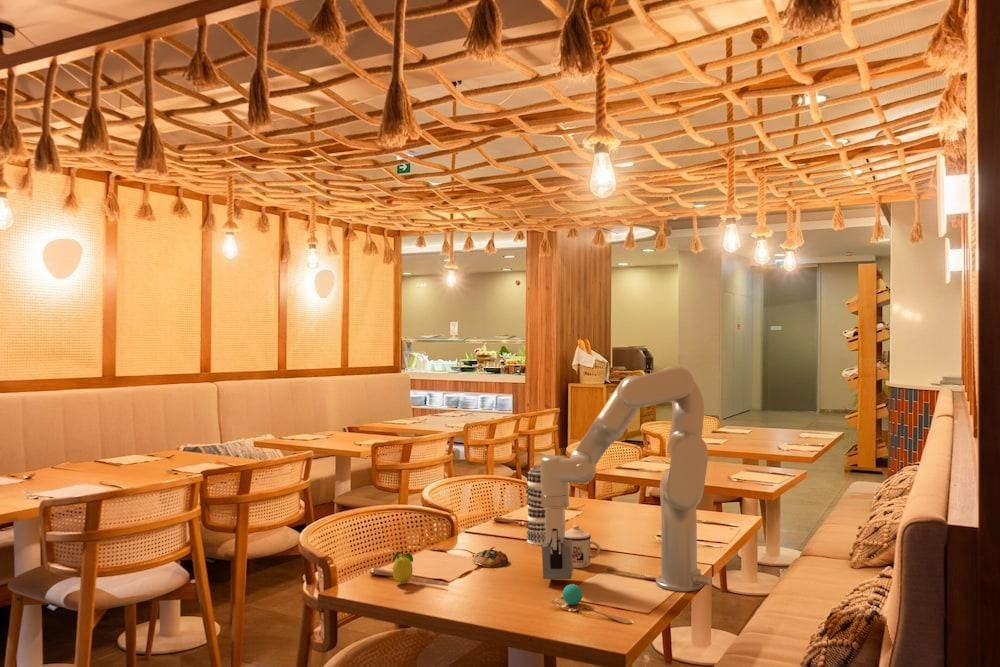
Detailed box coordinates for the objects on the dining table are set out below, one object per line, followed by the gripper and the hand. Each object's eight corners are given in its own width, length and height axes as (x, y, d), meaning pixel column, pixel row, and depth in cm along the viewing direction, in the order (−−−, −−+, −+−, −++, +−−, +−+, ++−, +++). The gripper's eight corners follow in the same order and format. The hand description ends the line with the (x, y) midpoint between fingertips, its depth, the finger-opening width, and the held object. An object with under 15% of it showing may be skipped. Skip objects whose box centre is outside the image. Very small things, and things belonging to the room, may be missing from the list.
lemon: (391, 588, 203) (391, 551, 203) (388, 582, 208) (389, 545, 209) (416, 586, 204) (416, 549, 205) (412, 580, 210) (412, 544, 210)
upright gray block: (572, 571, 211) (571, 539, 212) (571, 579, 204) (570, 546, 204) (545, 570, 212) (544, 539, 213) (543, 578, 205) (541, 546, 205)
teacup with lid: (556, 566, 224) (556, 527, 224) (566, 559, 232) (566, 521, 232) (595, 571, 219) (595, 531, 219) (603, 563, 227) (603, 524, 228)
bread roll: (515, 561, 230) (513, 545, 230) (496, 575, 220) (494, 558, 220) (484, 557, 236) (482, 542, 235) (465, 571, 226) (463, 554, 226)
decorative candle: (540, 537, 260) (539, 465, 261) (558, 542, 253) (558, 468, 254) (520, 541, 254) (520, 467, 255) (538, 546, 247) (538, 470, 248)
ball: (586, 604, 190) (586, 584, 190) (575, 609, 186) (575, 588, 186) (569, 600, 193) (569, 580, 193) (558, 605, 189) (558, 585, 189)
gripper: (544, 495, 218) (547, 556, 217) (538, 507, 201) (541, 573, 200) (570, 494, 217) (572, 556, 216) (566, 506, 200) (569, 573, 199)
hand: (557, 563), depth 208 cm, fingers closed on upright gray block, 7 cm apart
